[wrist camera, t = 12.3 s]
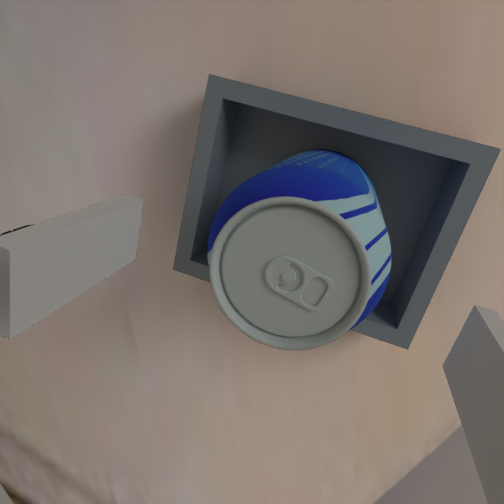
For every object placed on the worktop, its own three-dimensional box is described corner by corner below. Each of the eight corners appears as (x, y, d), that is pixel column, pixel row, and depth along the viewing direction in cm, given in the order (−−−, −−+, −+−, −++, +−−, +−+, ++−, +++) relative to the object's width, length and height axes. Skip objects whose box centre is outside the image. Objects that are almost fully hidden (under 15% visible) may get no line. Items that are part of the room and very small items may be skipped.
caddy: (231, 81, 30) (209, 74, 25) (476, 144, 27) (501, 148, 23) (197, 250, 35) (173, 269, 30) (400, 317, 32) (407, 349, 28)
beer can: (290, 268, 33) (238, 387, 18) (249, 174, 31) (154, 221, 16) (391, 233, 30) (428, 341, 15) (352, 128, 28) (349, 133, 13)
